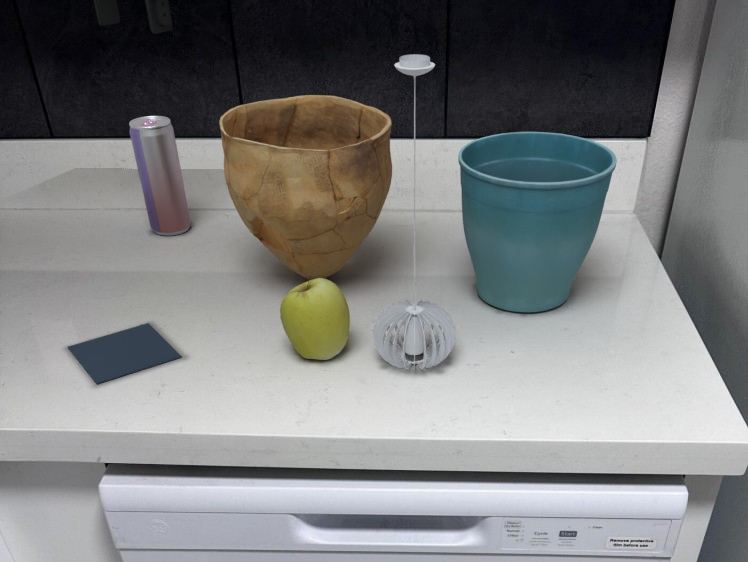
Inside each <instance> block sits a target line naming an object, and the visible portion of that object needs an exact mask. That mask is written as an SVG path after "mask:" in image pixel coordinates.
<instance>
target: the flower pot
mask: <svg viewBox="0 0 748 562" xmlns="http://www.w3.org/2000/svg"><path fill="white" fill-rule="evenodd" d="M457 156H458V161H457V162H458V164H459V171H460V172H459V173H460V174H459V176H460V188H461V189H460V190H461V213H462V214H461V216H462V226H463V234H464V238H465V243H466V246H467V250H468V252H469V256H470V260H471V263H472V266H473V270H474V275H475V279H476V282H475V283H476V284H475V289H476V293H477V295H478V296H479V298H480V299H481V300H483V301H484V302H485V303H487V304H489V305H490V306H492V307H495V308H496V309H497V308H498V309H501V310H504V311H509V312H514V313H515V312H517V313H538V312H539V313H541V312H544V311H549V310H550V311H551V310H553V309H556V308H557V307H559V306H561V305H563V304H564V303H565V302H566V301H567V300H568V298H569V297H570V294H571V288H572V285H573V282H574V280H575V279H576V277H577V274H578V272H579V270H580V268H581V266H582V264H583V263H584V261H585V259H586V257H587V255H588V254H589V252H590V249H591V247H592V245H593V242H594V240H595V238H596V235H597V233H598V229H599V225H600V222H601V219H602V215H603V210H604V207H605V203H606V197H607V195H608V192H609V189H610V185H611V181H612V176H613V173H614V171H615V169H616V167H617V162H618V161H617V160H618V159H617V156H616V154H615V153H614V152H613V150H611V149H610V148H608V146H606V145H604V144H602V143H600V142H597V141H594V140H592V139H587V138H585V137H581V136H576V135H570V134H565V133H559V132H558V133H557V132H547V131H545V132H544V131H516V132H515V131H514V132H505V133H497V134H491V135H489V136H484V137H480V138H477V139H474V140H472V141H470V142H468V143H466V144H465V145H464V146H463V147H462V148H460V150H459V152H458V155H457Z"/></svg>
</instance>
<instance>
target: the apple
mask: <svg viewBox="0 0 748 562" xmlns="http://www.w3.org/2000/svg"><path fill="white" fill-rule="evenodd" d="M310 278H311V276H310V277H309V279H308V281H305V282H302V283H300V284H298V285H296V286H295V287H293V288H291V289H290V290H289V291H288V292H287V294H286V295H285V296H284V297H283V299H282V300H281V303H280V307H279V315H280V321H281V325H282V328H283V330H284V333H285V335H286V336H287V338H288V340H289V342H290V343H291V345H292V347H293V349H294V350H296V352H297V353H298V354H299V355H300V356H301V357H302V358H304V359H307V360H318V361H319V360H320V361H321V360H322V361H323V360H325V361H326V360H327V361H328V360H331V359H333V358H334V357H336V356H337V355H339V354H340V353H341V352H342V350H343V349H344V348H345V346H346V345H347V342H348V339H349V336H350V335H349V334H350V327H351V326H350V325H351V316H350V308H349V304H348V301H347V299H346V296H345V294H344V293H343V291H342V290H341V289H340V287H339V286H338V285H337V284H336V283H334V282H333V281H331V280H329V279H327V278H317V279H313V280H310Z"/></svg>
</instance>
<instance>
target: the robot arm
mask: <svg viewBox="0 0 748 562" xmlns="http://www.w3.org/2000/svg"><path fill="white" fill-rule="evenodd" d="M144 3H145V7H146V12H147V18H148V23H149V29H150V31H151V33H152V34H156V35H158V34H161V33H166V32H170V31H172V30H173V22H172V21H173V20H172V16H171V10H170V4H169V0H144ZM93 5H94V8H95V13H96V18H97V22H98V24H99V26H101V27H107V26H111V25H117V24H119V23H120V22H121V15H120V11H119V7H118V2H117V0H93Z"/></svg>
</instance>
